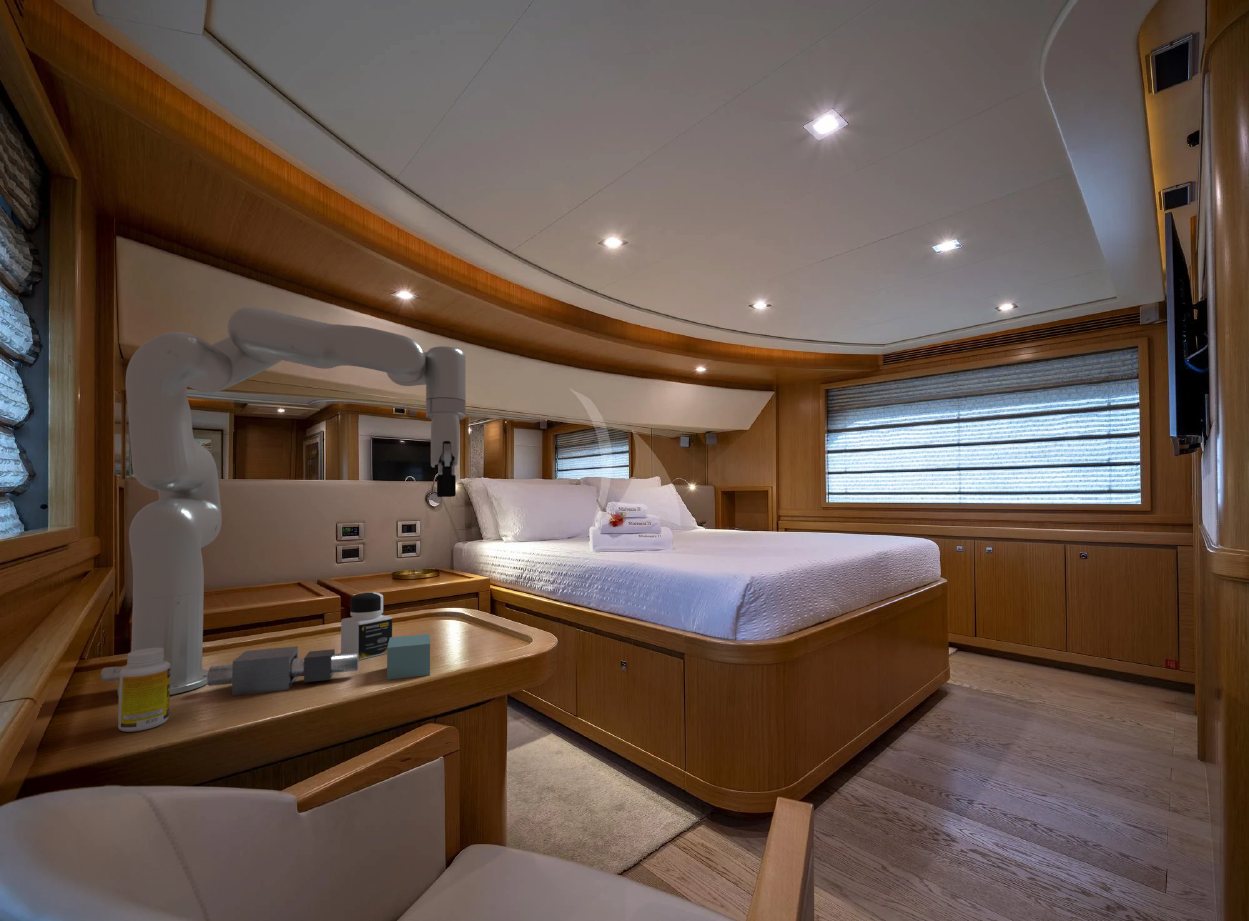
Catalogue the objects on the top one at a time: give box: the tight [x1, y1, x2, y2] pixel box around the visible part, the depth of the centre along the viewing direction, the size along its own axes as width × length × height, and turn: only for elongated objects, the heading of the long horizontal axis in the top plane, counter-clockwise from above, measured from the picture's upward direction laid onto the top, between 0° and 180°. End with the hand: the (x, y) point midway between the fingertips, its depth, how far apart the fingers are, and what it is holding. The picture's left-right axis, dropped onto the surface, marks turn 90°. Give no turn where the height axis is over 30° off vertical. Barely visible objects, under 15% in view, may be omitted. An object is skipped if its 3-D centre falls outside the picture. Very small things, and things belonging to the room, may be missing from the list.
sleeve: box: [231, 646, 299, 697], centre depth 98 cm, size 8×7×5 cm
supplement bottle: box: [117, 648, 171, 733], centre depth 82 cm, size 6×6×10 cm
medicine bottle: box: [340, 591, 393, 661], centre depth 118 cm, size 7×7×12 cm
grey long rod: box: [207, 648, 360, 687], centre depth 99 cm, size 22×4×4 cm, turn 109°
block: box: [386, 633, 431, 681], centre depth 105 cm, size 7×8×5 cm
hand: (445, 496), depth 114 cm, fingers open, 9 cm apart
